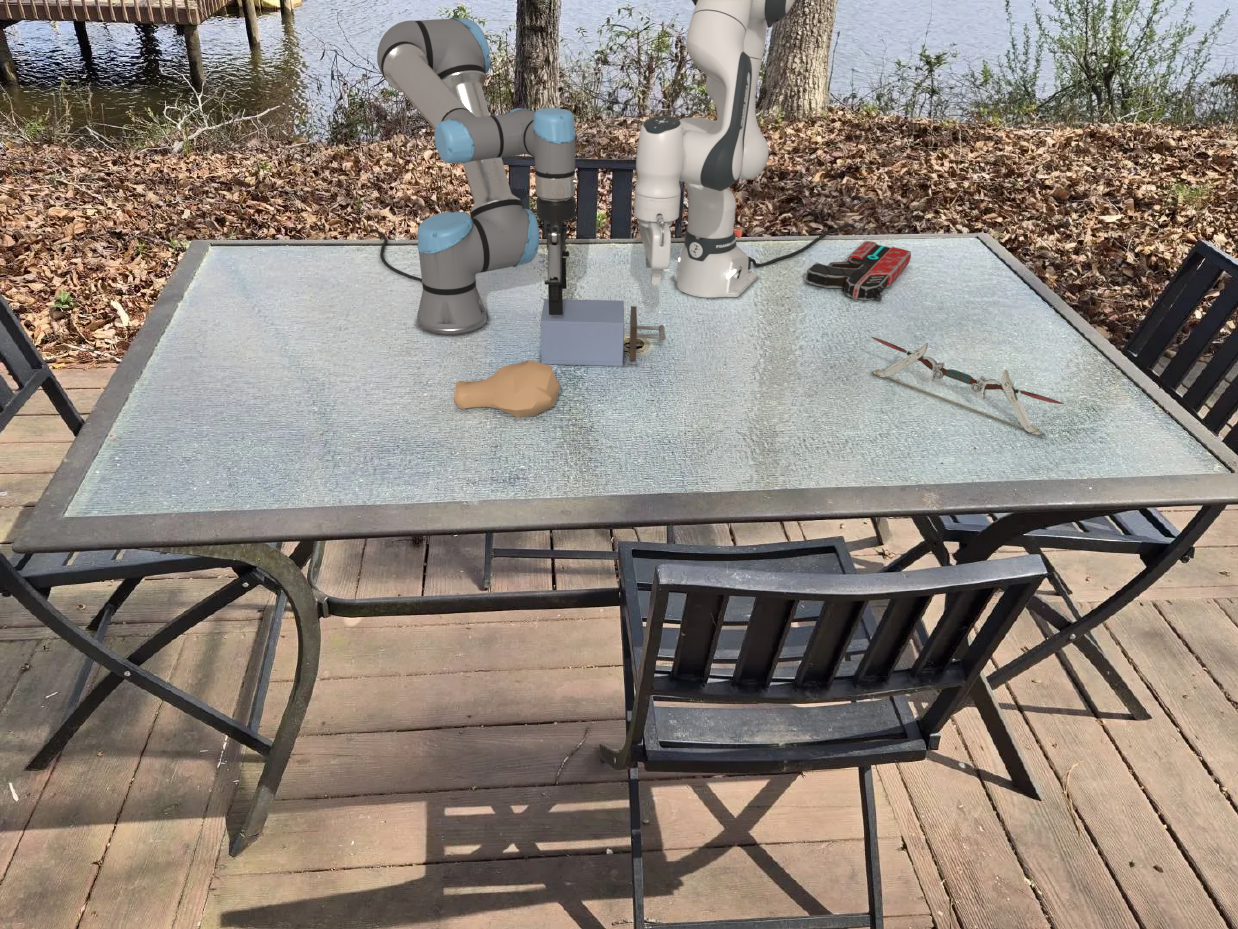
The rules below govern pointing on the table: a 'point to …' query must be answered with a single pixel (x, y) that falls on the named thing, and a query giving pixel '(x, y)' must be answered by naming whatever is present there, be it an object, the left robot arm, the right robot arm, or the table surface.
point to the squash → (512, 390)
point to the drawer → (634, 335)
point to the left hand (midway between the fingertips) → (558, 300)
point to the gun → (862, 271)
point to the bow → (976, 386)
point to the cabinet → (583, 333)
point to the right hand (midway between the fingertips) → (652, 274)
